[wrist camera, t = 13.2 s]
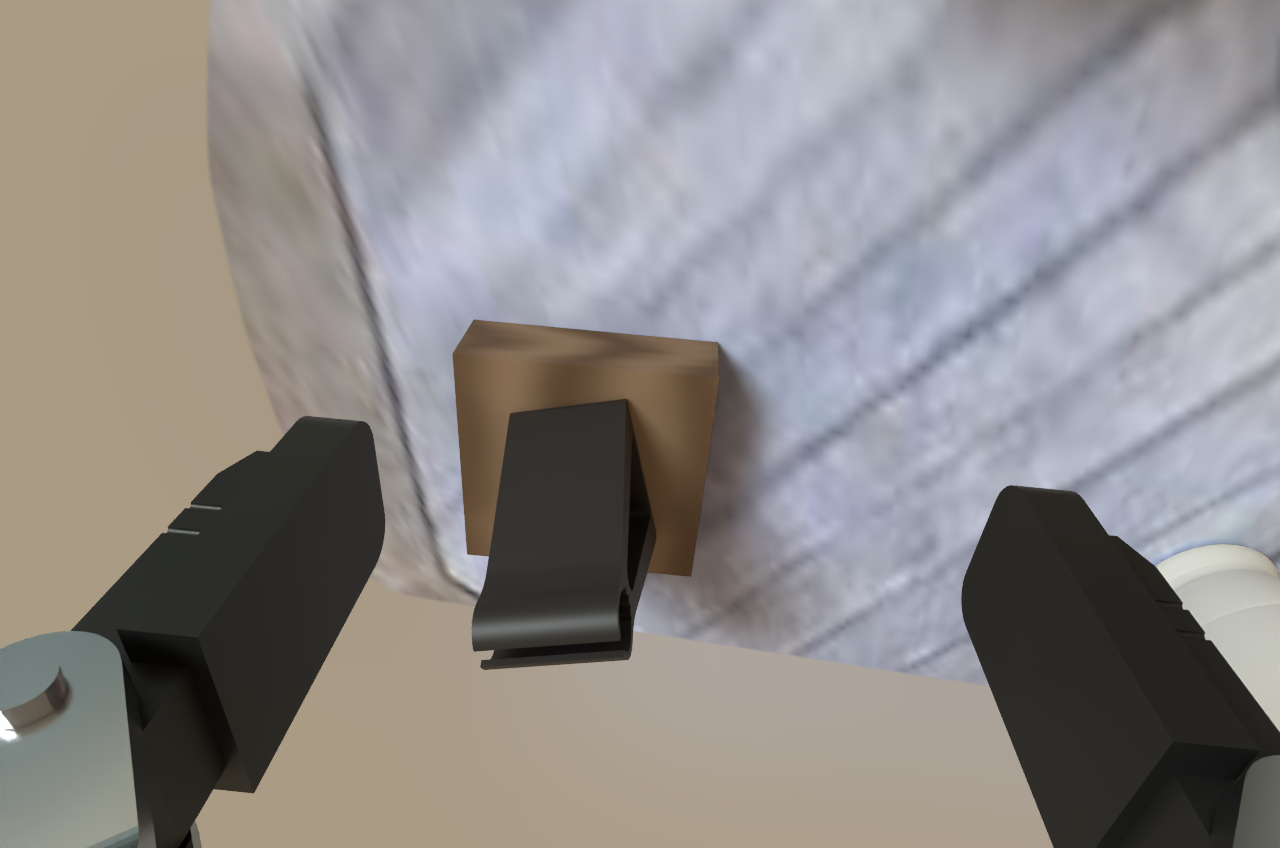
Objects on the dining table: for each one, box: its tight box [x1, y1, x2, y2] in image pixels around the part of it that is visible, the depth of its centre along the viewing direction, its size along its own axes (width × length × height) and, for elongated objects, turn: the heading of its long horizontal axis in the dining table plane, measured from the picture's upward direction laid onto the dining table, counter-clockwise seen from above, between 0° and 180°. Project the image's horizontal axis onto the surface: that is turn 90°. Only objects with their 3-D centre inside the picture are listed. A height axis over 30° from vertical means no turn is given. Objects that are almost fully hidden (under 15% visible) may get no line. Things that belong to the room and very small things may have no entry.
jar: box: [1155, 544, 1280, 732], centre depth 40 cm, size 11×10×15 cm
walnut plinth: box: [453, 320, 720, 576], centre depth 41 cm, size 13×13×4 cm
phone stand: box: [472, 399, 657, 670], centre depth 34 cm, size 9×6×12 cm, turn 10°
